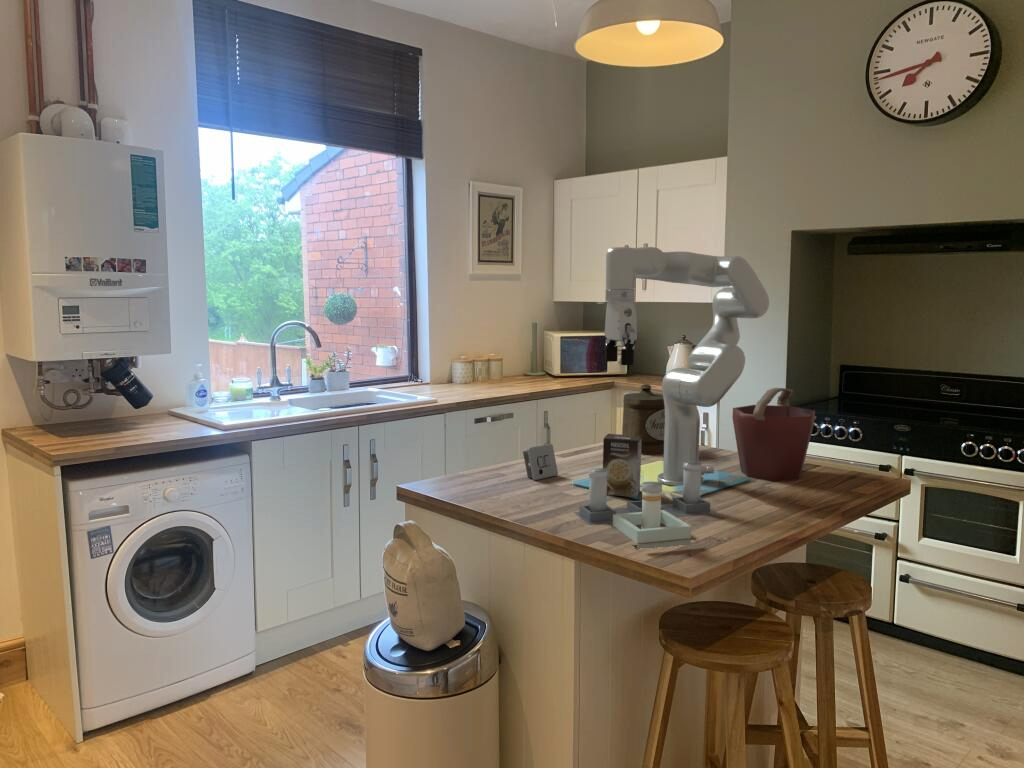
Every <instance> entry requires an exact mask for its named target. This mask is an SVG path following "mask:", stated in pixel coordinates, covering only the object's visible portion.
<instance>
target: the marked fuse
mask: <svg viewBox="0 0 1024 768" xmlns="http://www.w3.org/2000/svg"><path fill="white" fill-rule="evenodd" d="M641 490H642V491H641V499H642V500H641V501H642V525H640V529H648V528H658V527H661V524H662V523H661V505H662V491H663V483H661V482H659V481H644V482H642V484H641Z"/></svg>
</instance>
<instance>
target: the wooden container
mask: <svg viewBox="0 0 1024 768" xmlns="http://www.w3.org/2000/svg"><path fill="white" fill-rule="evenodd" d="M640 389H641V391H640V392H634V393H633V392H630V393H626V394H625V393H624V395H623V400H622V401H623V408H622V409H623V411H622V426H621V427H622V429H621V431H622V432H621V435H630V436H641V437H642V443H641V455H657V454H658V455H659V454H664V429H665V406H664V398H663V393H655V392H654V393H653V391H651V389H652V386H651V385H650V384H647V383H643V384H642V385H640Z"/></svg>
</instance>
